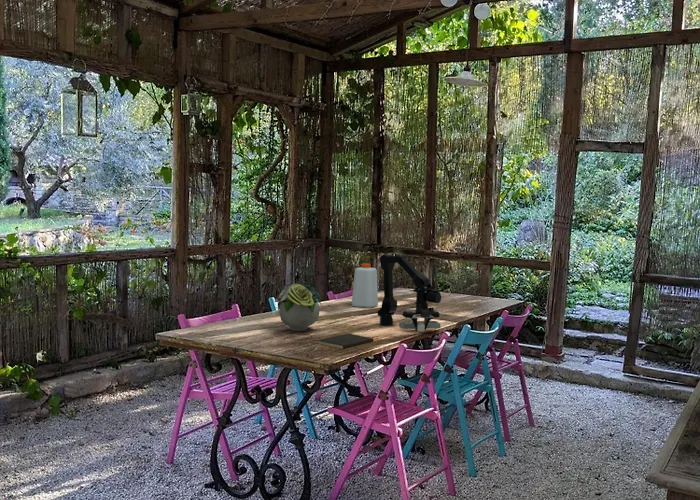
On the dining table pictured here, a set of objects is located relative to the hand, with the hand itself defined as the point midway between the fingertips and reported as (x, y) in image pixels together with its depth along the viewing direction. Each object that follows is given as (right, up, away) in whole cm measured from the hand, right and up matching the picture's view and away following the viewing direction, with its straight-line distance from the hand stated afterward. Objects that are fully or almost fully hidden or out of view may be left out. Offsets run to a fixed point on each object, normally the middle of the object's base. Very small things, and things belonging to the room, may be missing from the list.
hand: (420, 330), depth 340 cm
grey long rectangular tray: (+1, -1, +10) cm, 11 cm away
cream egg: (0, -1, 0) cm, 1 cm away
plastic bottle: (-28, +5, +83) cm, 87 cm away
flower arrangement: (-64, 0, -2) cm, 64 cm away
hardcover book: (-39, -3, -30) cm, 49 cm away
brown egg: (-6, +1, +9) cm, 11 cm away
